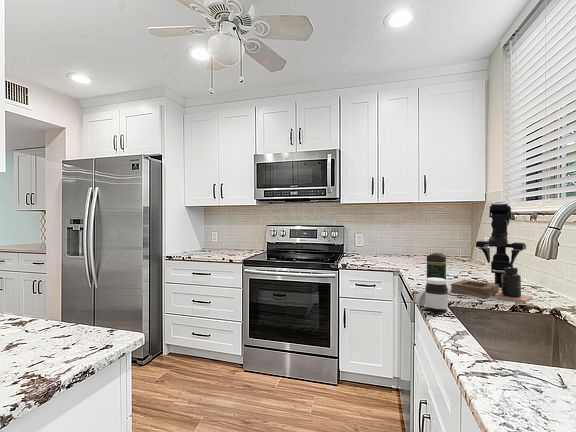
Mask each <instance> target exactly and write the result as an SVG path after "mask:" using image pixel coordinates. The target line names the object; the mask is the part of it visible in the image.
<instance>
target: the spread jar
mask: <svg viewBox="0 0 576 432" xmlns="http://www.w3.org/2000/svg"><path fill="white" fill-rule="evenodd" d="M425 280H426V282H425V283H426V284H425V287H424V288H422V289H421V290H420V291H419V292H418V293H417V296H416V298H415V303H416V304H417V305H418V306H420V307H421V306H422V307H423V306H425V309H426V311H429V312H432V313H439V314H440V313H441V314H442V313H446V312H448V310H449V309H448V308H449V307H448V306H449V295H448V294H449V293H448V292H449V291H448V286H447V278H446V279H443V278H427V277H426V279H425Z"/></svg>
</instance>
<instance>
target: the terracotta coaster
mask: <svg viewBox="0 0 576 432" xmlns="http://www.w3.org/2000/svg"><path fill="white" fill-rule="evenodd" d="M493 298H494V299H495V298H496V299H499V300H500V299H501V300H506V301H512V300H513V302H518V301H519V302H520V303H524V302H526V303H527V302H529V301H531V300H532V299H533V296H532V295H527V294H521V297H508V296H504V295H503V294H502V291H501V292H498V293H496V294H494V295H493ZM528 300H529V301H528Z"/></svg>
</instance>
